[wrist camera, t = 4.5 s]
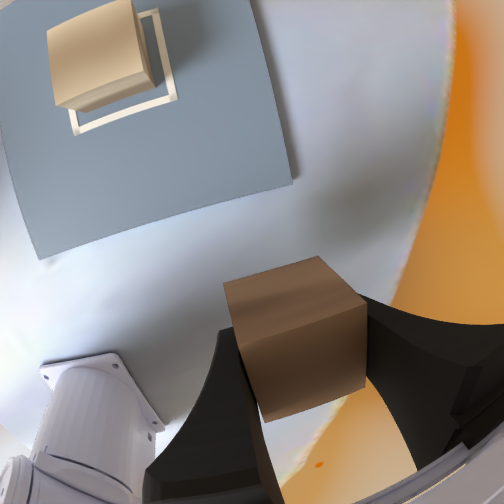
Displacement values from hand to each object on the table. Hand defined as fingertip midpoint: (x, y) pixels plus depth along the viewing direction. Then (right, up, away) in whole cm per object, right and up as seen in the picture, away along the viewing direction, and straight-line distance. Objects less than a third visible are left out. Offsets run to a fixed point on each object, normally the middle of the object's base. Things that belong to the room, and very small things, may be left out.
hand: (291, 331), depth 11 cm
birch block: (-9, +13, +1) cm, 16 cm away
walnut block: (0, +1, +1) cm, 2 cm away
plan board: (-9, +13, +2) cm, 16 cm away
